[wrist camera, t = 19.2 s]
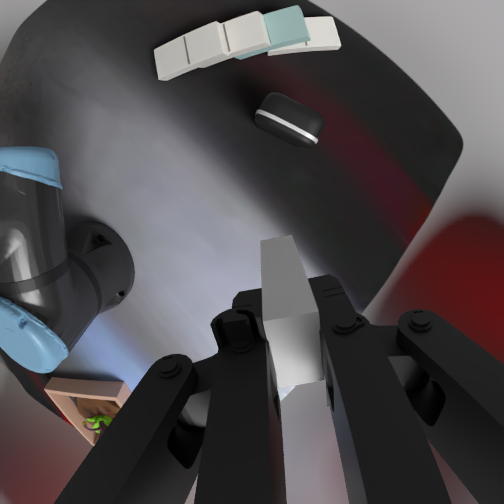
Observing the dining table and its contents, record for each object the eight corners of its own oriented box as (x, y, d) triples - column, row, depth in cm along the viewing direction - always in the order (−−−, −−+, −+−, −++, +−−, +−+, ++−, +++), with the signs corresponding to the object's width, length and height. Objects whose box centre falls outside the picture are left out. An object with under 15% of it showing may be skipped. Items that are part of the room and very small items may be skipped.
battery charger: (312, 125, 35) (334, 117, 25) (299, 148, 36) (317, 150, 26) (266, 101, 34) (269, 83, 24) (253, 125, 35) (251, 116, 25)
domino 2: (195, 66, 31) (265, 42, 27) (189, 36, 29) (257, 10, 25) (203, 68, 32) (271, 46, 28) (197, 39, 31) (263, 15, 26)
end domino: (268, 51, 30) (341, 45, 29) (260, 21, 28) (332, 16, 27) (268, 55, 32) (337, 49, 31) (260, 26, 30) (329, 21, 29)
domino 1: (158, 79, 31) (222, 53, 27) (153, 49, 30) (215, 20, 26) (167, 80, 33) (229, 56, 29) (162, 51, 31) (222, 25, 27)
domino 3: (233, 57, 30) (307, 36, 26) (226, 27, 29) (297, 5, 24) (240, 59, 32) (311, 40, 27) (232, 30, 30) (301, 10, 26)
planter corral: (97, 433, 64) (92, 445, 60) (52, 376, 56) (43, 388, 51) (167, 442, 62) (164, 456, 57) (124, 381, 53) (116, 397, 49)
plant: (75, 409, 61) (61, 436, 50) (81, 376, 55) (62, 408, 44) (135, 441, 64) (126, 470, 54) (153, 415, 58) (142, 450, 48)
